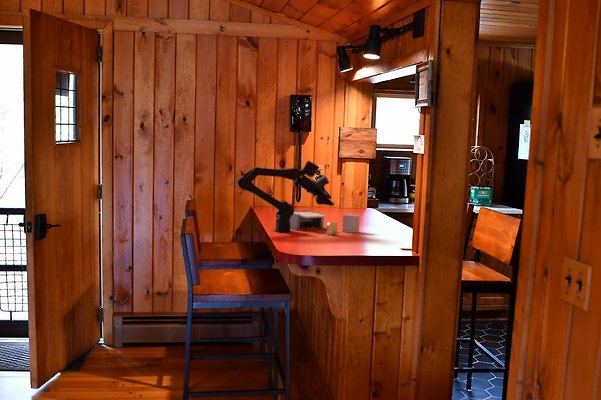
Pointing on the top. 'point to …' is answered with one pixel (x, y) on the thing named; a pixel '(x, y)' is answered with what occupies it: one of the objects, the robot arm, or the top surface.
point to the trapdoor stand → (296, 222)
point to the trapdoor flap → (308, 216)
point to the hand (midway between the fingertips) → (332, 201)
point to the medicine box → (350, 223)
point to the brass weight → (331, 228)
